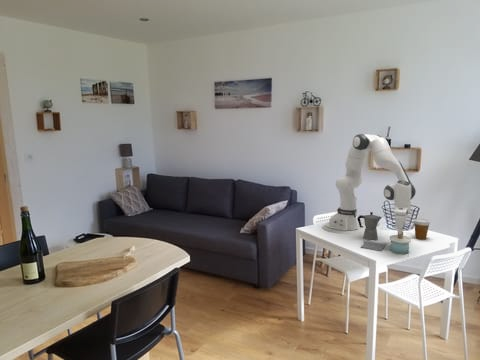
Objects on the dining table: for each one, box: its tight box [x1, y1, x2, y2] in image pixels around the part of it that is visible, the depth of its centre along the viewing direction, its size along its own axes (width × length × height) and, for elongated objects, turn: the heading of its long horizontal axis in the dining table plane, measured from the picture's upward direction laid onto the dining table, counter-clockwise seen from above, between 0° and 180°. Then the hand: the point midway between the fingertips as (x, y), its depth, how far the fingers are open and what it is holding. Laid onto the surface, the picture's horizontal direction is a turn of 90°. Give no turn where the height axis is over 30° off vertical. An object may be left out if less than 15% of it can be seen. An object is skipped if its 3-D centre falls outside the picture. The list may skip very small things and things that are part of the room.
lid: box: [389, 230, 412, 244], centre depth 210 cm, size 12×12×5 cm
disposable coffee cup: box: [413, 218, 431, 241], centre depth 232 cm, size 10×10×12 cm
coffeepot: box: [356, 211, 383, 241], centre depth 233 cm, size 15×9×18 cm, turn 80°
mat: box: [360, 240, 386, 252], centre depth 220 cm, size 12×12×1 cm
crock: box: [389, 240, 411, 255], centre depth 211 cm, size 11×11×7 cm
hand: (401, 231), depth 209 cm, fingers open, 8 cm apart
